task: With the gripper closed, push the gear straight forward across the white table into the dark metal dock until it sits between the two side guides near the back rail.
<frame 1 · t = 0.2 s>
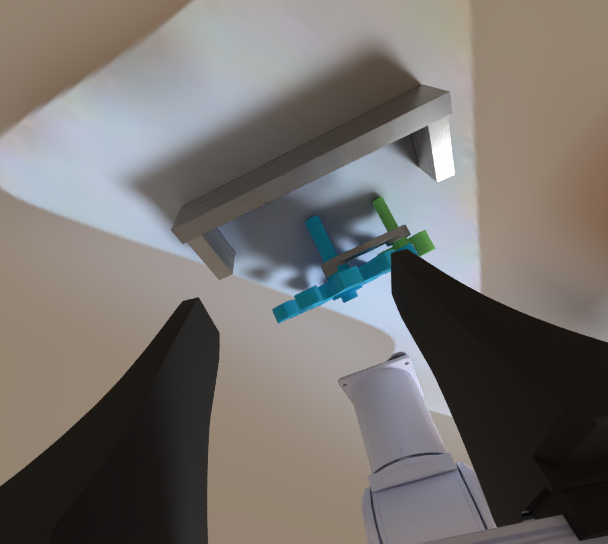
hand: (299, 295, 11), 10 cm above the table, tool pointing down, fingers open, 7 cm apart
dock: (310, 186, 19), on the table
gear: (338, 247, 22), on the table
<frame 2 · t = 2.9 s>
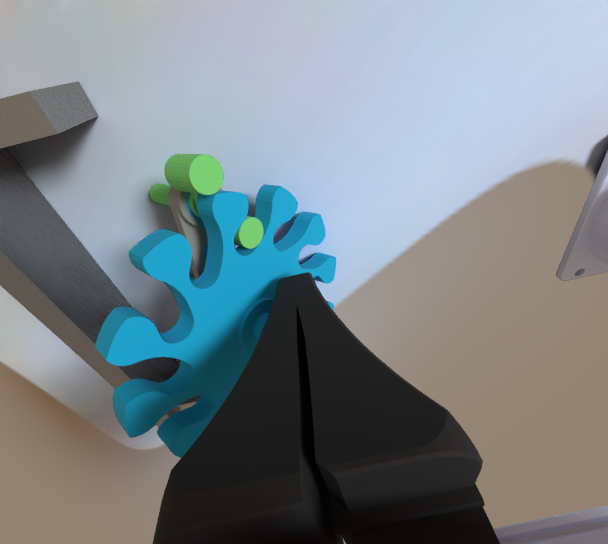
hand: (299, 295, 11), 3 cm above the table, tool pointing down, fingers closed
dock: (146, 280, 14), on the table
gear: (250, 251, 14), on the table, touching gripper
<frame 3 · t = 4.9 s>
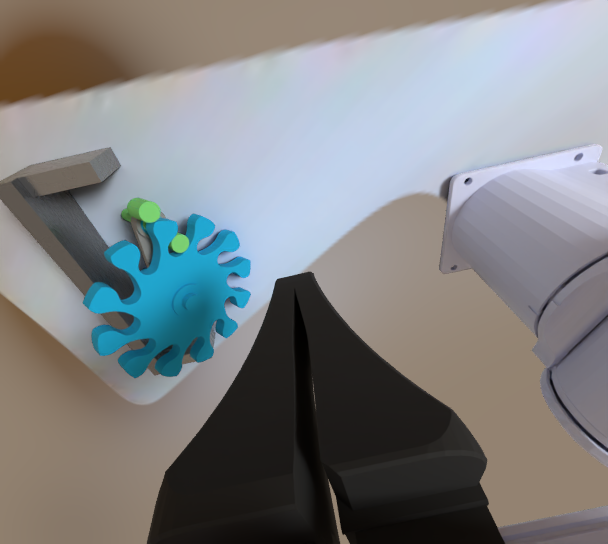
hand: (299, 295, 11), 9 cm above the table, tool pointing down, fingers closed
dock: (147, 267, 21), on the table
gear: (192, 253, 21), on the table
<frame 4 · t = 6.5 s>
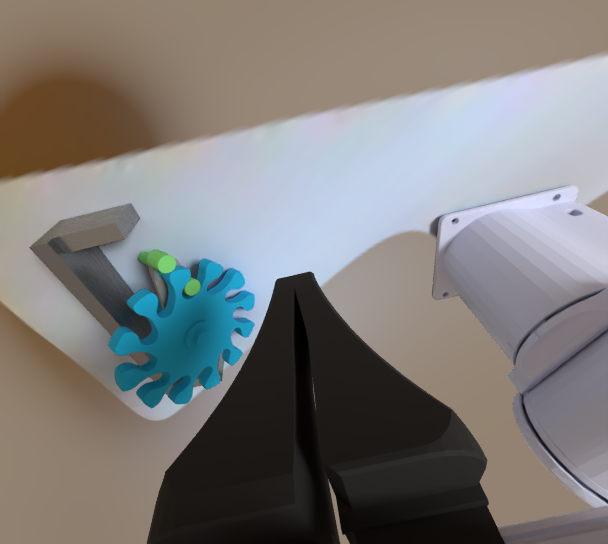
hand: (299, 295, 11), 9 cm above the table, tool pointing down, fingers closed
dock: (162, 302, 23), on the table
gear: (201, 288, 23), on the table
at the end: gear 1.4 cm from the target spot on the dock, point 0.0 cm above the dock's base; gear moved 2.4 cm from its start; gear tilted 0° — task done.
